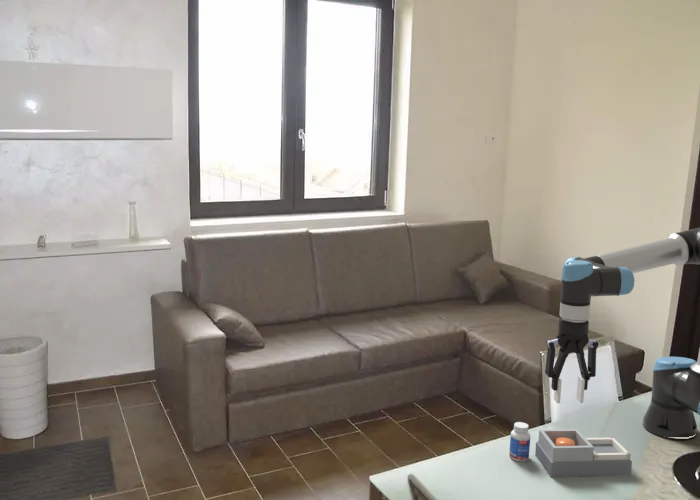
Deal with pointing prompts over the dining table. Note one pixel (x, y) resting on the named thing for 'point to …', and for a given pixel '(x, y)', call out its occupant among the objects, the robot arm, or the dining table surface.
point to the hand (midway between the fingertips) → (568, 400)
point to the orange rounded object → (564, 442)
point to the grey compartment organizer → (581, 455)
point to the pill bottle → (520, 442)
